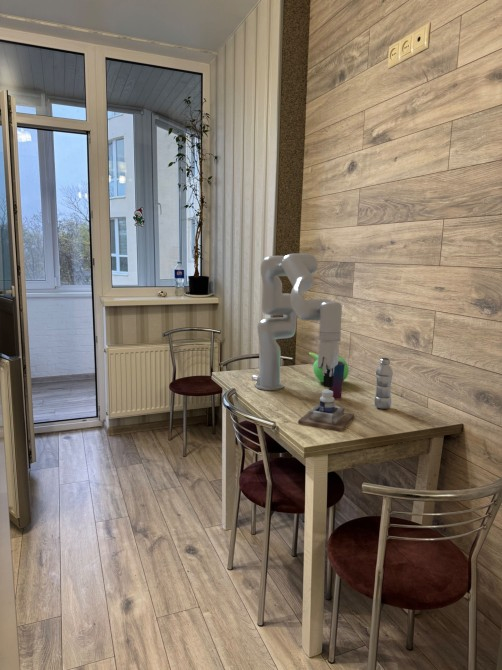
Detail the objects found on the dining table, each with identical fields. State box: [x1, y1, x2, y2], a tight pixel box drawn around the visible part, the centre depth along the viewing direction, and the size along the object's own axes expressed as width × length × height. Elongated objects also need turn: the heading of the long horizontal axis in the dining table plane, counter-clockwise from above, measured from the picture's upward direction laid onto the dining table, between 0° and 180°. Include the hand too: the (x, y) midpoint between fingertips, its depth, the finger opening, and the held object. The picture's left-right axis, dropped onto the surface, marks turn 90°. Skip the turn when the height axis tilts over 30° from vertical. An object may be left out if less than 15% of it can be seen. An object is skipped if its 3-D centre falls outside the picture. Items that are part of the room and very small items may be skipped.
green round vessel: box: [308, 352, 350, 383], centre depth 221 cm, size 18×17×15 cm
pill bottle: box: [319, 389, 336, 414], centre depth 173 cm, size 5×5×10 cm
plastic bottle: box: [373, 357, 394, 410], centre depth 186 cm, size 6×7×20 cm
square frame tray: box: [297, 403, 355, 432], centre depth 173 cm, size 16×16×4 cm
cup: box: [328, 361, 345, 400], centre depth 200 cm, size 7×7×15 cm
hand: (328, 386), depth 171 cm, fingers closed
